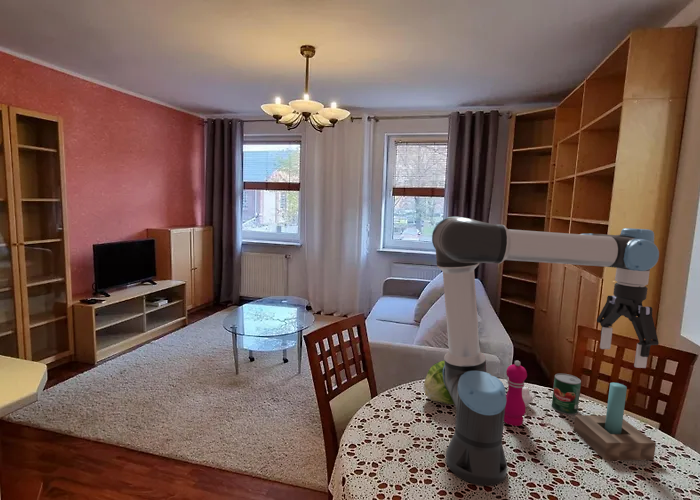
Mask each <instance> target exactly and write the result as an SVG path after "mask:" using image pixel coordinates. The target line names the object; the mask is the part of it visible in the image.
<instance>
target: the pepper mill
mask: <svg viewBox="0 0 700 500" xmlns="http://www.w3.org/2000/svg"><path fill="white" fill-rule="evenodd" d="M527 372H528V371H527V370H526V367H524V366H522V365H521V361H519V360H514V364H509V366H508V367H507V368H506V377H507V382H506V383H507V385H508V388H507V389H508V390H507V391H506V406H505V415H504V423H505V424H506V425H510V426H513V427H514V426H515V427H519V426H522V425H523V423H524V417H523V416H525V414H526V412H527V411H526V410H527V407H525V403H524V400H523V398H522V388H523V387H524V386H525V380H526V379H527V378H528V373H527Z"/></svg>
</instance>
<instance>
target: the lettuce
mask: <svg viewBox="0 0 700 500" xmlns="http://www.w3.org/2000/svg"><path fill="white" fill-rule="evenodd" d="M444 365H445V362H444V360H440V361H437V362H436V363H434V364H433V365H432V366H431V367H430V368H429V370H428V371H427V372H426V377H425V379H424V382H423V391H424V393H425V395H426V397H427V399H429V400H430V401H432V402H439V403H442V404H445V405H453V406H455V404H454V402H453V400H452V398H451V395H450V393H449V391H448V390H447V388H446V386H445V384H444V380H443V368H444Z"/></svg>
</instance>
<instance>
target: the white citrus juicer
mask: <svg viewBox="0 0 700 500" xmlns="http://www.w3.org/2000/svg"><path fill="white" fill-rule="evenodd" d="M522 398H523V400H524V403H525V407H526V408H527V407H528V406H529V405H530V403H531V402H532V401H533V395H532V394H531V393H530V390H529V388H528V387H527V386H525V385H524V387H523V388H522Z"/></svg>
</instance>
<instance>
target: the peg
mask: <svg viewBox="0 0 700 500" xmlns="http://www.w3.org/2000/svg"><path fill="white" fill-rule="evenodd" d="M627 388H628V387H627V386H626V385H624V384H623V383H619V382H610V383H609V391H608V399H607V406H606V415H605V416H606V421H605V430H606V431H607V432H608V433H610V434H621V430H622V422H623V419H624V413H625V405H626V398H627V397H626V396H627V390H628V389H627Z"/></svg>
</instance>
